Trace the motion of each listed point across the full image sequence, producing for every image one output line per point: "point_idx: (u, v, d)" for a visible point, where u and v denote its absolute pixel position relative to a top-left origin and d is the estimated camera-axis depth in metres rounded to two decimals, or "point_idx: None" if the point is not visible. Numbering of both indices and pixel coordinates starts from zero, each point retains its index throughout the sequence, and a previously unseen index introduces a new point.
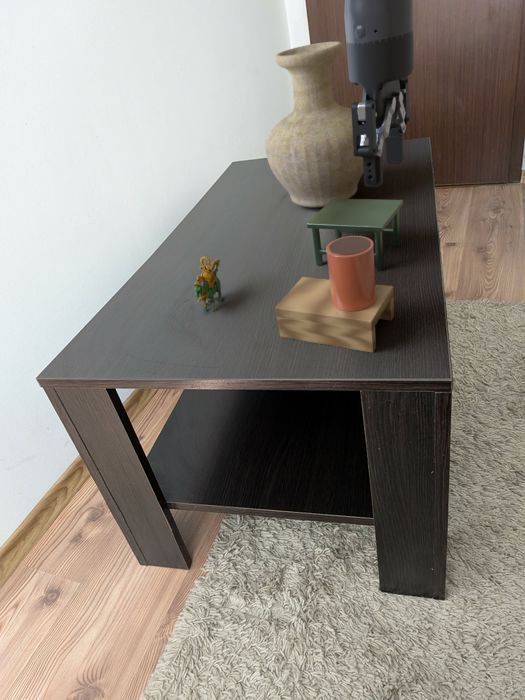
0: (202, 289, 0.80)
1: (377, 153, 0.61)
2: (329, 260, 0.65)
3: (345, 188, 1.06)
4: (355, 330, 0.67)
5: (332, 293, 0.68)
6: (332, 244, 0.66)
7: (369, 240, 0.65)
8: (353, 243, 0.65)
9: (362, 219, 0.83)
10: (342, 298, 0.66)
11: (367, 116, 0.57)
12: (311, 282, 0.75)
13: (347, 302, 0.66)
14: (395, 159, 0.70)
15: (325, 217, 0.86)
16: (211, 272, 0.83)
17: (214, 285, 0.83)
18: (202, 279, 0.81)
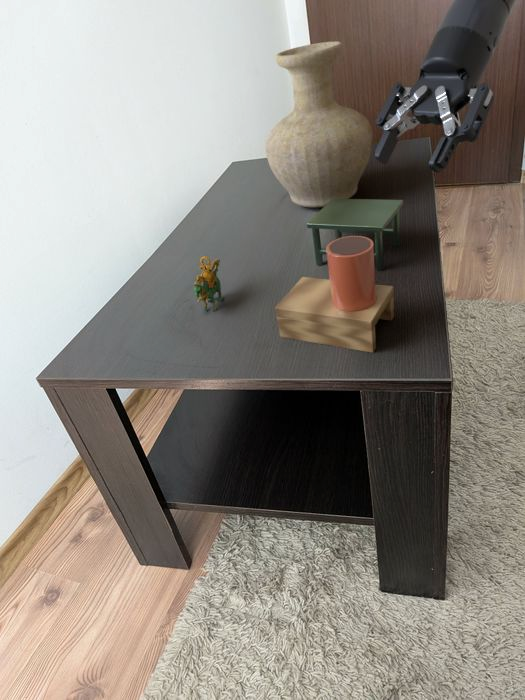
0: (202, 289, 0.80)
1: (384, 126, 0.68)
2: (329, 260, 0.65)
3: (345, 188, 1.06)
4: (355, 330, 0.67)
5: (332, 293, 0.68)
6: (332, 244, 0.66)
7: (369, 240, 0.65)
8: (353, 243, 0.65)
9: (362, 219, 0.83)
10: (342, 298, 0.66)
11: None
12: (311, 282, 0.75)
13: (347, 302, 0.66)
14: None
15: (325, 217, 0.86)
16: (211, 272, 0.83)
17: (214, 285, 0.83)
18: (202, 279, 0.81)
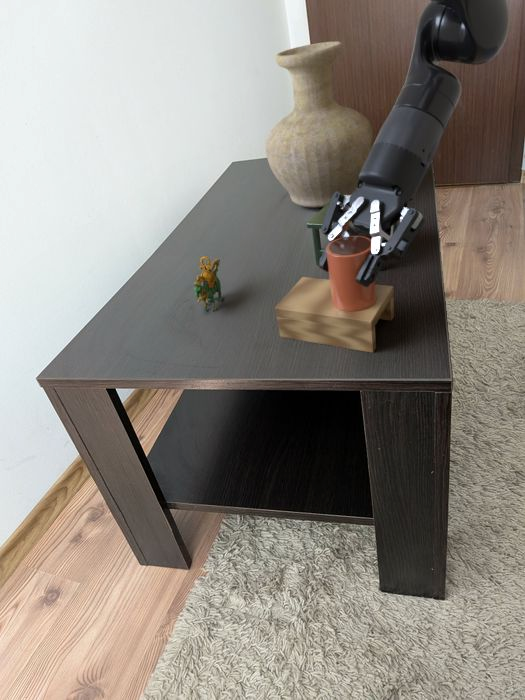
0: (202, 289, 0.80)
1: (328, 236, 0.68)
2: (329, 260, 0.65)
3: (345, 188, 1.06)
4: (355, 330, 0.67)
5: (332, 293, 0.68)
6: (332, 244, 0.66)
7: (369, 240, 0.65)
8: (353, 243, 0.65)
9: None
10: (342, 298, 0.66)
11: None
12: (311, 282, 0.75)
13: (347, 302, 0.66)
14: None
15: None
16: (211, 272, 0.83)
17: (214, 285, 0.83)
18: (202, 279, 0.81)
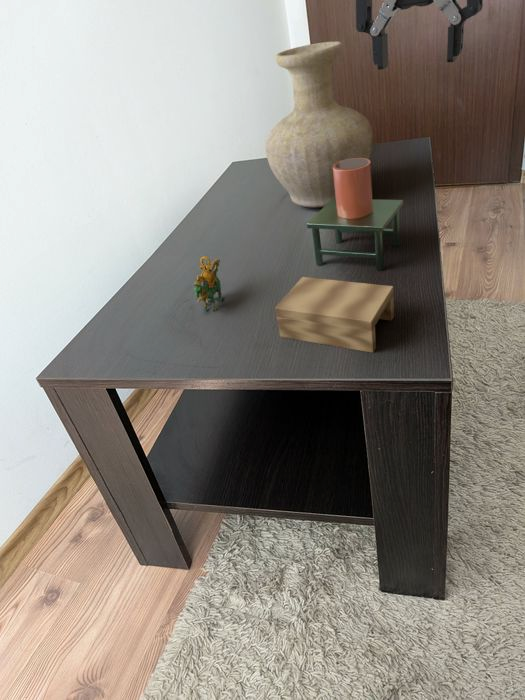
0: (202, 289, 0.80)
1: (370, 31, 0.63)
2: None
3: None
4: (355, 330, 0.67)
5: None
6: (348, 159, 0.83)
7: (365, 165, 0.80)
8: (355, 163, 0.81)
9: (362, 219, 0.83)
10: (336, 203, 0.85)
11: None
12: (311, 282, 0.75)
13: (337, 207, 0.85)
14: None
15: (325, 217, 0.86)
16: (211, 272, 0.83)
17: (214, 285, 0.83)
18: (202, 279, 0.81)
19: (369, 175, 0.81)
